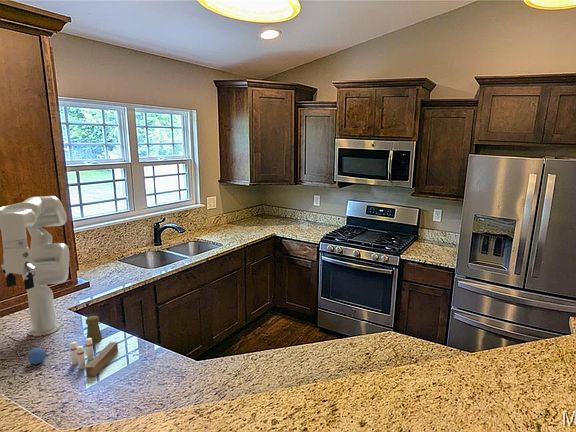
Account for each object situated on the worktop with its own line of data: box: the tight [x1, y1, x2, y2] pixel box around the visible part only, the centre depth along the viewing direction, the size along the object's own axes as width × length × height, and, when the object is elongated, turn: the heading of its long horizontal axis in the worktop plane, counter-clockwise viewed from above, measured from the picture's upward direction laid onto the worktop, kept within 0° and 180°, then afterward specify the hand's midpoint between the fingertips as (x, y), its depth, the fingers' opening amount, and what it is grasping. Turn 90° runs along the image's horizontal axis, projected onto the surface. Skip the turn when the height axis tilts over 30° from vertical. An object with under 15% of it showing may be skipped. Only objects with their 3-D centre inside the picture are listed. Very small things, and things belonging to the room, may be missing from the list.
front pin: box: [69, 341, 78, 366], centre depth 143 cm, size 2×2×8 cm
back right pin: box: [77, 345, 86, 370], centre depth 140 cm, size 2×2×8 cm
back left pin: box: [85, 337, 95, 362], centre depth 146 cm, size 2×2×8 cm
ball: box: [27, 347, 47, 365], centre depth 143 cm, size 6×6×6 cm
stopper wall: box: [85, 341, 119, 378], centre depth 143 cm, size 3×18×4 cm, turn 179°
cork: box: [85, 315, 103, 345], centre depth 160 cm, size 6×6×11 cm
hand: (20, 287), depth 142 cm, fingers open, 9 cm apart
